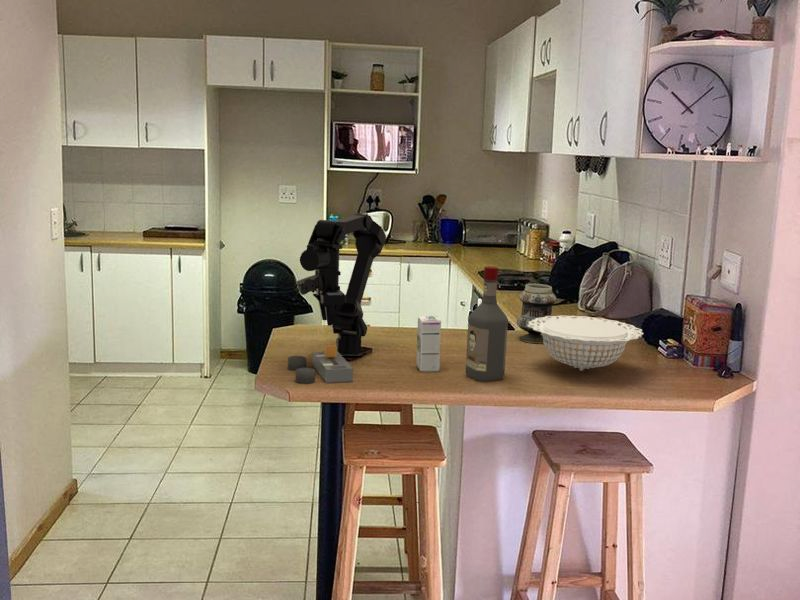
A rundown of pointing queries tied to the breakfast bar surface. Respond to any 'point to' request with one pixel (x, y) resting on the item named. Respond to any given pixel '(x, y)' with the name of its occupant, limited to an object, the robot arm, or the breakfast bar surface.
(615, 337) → the colander
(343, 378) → the grey flat block
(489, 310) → the liquor
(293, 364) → the coil
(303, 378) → the coil
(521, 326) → the apothecary jar
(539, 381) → the breakfast bar surface
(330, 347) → the orange upright box
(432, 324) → the syrup box
